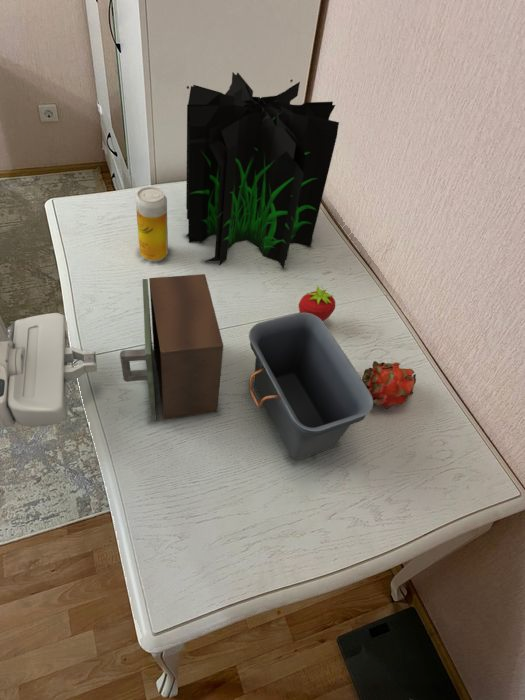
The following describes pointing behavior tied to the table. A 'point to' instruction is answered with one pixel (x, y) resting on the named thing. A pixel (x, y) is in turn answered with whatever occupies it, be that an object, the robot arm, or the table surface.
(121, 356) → the cupboard door
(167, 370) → the cupboard
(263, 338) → the storage bin
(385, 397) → the dragon fruit
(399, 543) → the table surface
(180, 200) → the table surface
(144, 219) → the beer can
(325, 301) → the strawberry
